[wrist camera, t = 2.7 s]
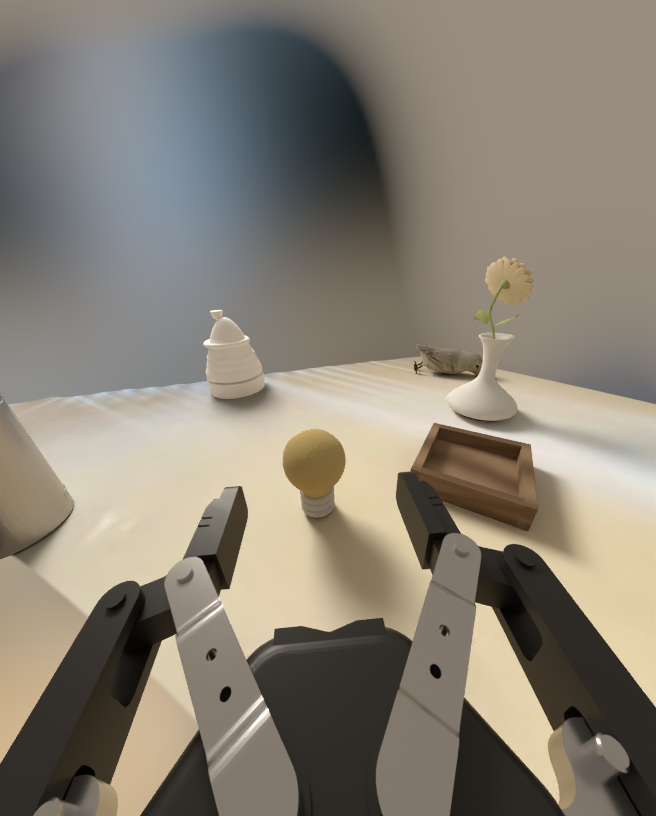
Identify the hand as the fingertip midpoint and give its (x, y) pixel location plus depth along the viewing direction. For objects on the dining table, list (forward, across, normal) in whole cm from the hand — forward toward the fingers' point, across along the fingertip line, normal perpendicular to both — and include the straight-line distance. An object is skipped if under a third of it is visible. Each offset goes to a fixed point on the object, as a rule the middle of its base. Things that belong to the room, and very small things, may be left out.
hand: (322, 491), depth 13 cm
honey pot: (+51, -19, -14) cm, 56 cm away
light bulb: (+12, -1, -14) cm, 18 cm away
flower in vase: (+32, +30, -14) cm, 46 cm away
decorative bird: (+51, +33, -14) cm, 62 cm away
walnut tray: (+15, +19, -14) cm, 28 cm away
